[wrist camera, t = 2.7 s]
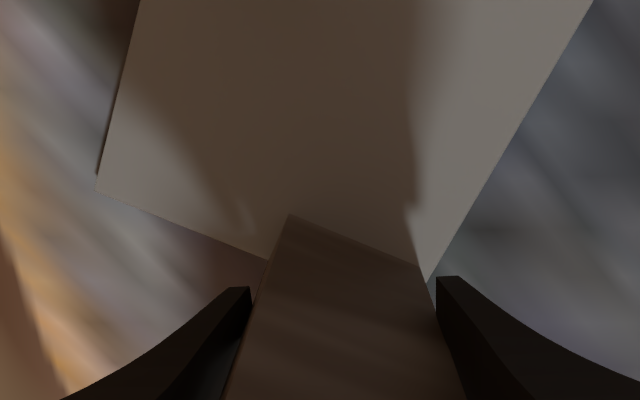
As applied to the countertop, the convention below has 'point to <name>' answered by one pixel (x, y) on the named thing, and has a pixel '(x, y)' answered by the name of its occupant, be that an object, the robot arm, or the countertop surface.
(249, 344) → the domino
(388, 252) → the mat
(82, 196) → the countertop surface
